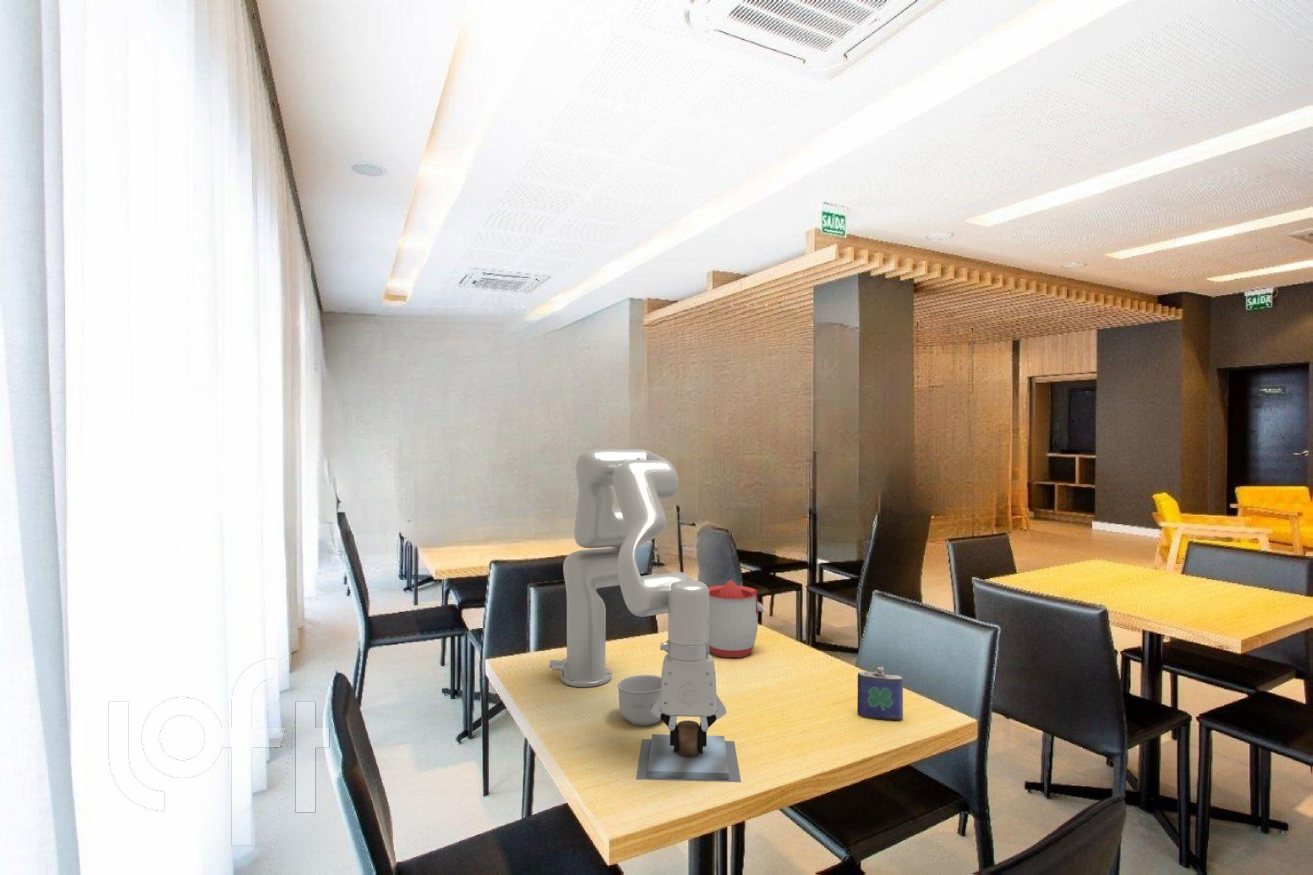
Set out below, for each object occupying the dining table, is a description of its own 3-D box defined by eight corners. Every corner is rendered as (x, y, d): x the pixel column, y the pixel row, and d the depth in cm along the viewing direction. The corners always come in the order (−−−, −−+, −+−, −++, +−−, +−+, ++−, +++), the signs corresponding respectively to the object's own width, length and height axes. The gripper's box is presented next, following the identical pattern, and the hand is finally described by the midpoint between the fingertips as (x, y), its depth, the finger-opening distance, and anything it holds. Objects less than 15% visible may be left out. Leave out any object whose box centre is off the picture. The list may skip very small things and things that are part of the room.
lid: (647, 777, 111) (648, 741, 111) (652, 740, 125) (652, 708, 125) (729, 779, 111) (729, 743, 111) (724, 741, 125) (724, 709, 125)
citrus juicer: (766, 663, 170) (766, 587, 171) (700, 659, 173) (701, 585, 173) (764, 644, 186) (764, 575, 186) (703, 641, 188) (704, 573, 188)
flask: (902, 717, 137) (902, 666, 137) (903, 722, 134) (903, 671, 134) (857, 712, 140) (857, 662, 140) (857, 717, 137) (857, 667, 137)
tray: (636, 781, 111) (636, 778, 111) (641, 740, 126) (641, 738, 126) (740, 784, 110) (741, 781, 110) (734, 742, 125) (734, 740, 125)
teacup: (631, 735, 128) (631, 695, 128) (609, 714, 138) (609, 677, 138) (691, 721, 135) (691, 683, 135) (666, 702, 144) (666, 667, 144)
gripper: (641, 655, 115) (641, 758, 115) (735, 657, 114) (735, 760, 114) (644, 642, 122) (644, 738, 122) (732, 643, 121) (732, 741, 121)
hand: (688, 748), depth 118 cm, fingers closed on lid, 4 cm apart
